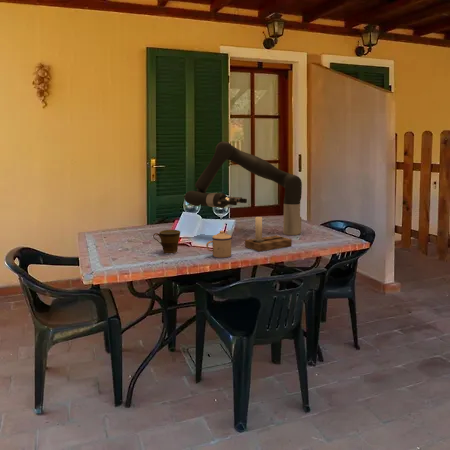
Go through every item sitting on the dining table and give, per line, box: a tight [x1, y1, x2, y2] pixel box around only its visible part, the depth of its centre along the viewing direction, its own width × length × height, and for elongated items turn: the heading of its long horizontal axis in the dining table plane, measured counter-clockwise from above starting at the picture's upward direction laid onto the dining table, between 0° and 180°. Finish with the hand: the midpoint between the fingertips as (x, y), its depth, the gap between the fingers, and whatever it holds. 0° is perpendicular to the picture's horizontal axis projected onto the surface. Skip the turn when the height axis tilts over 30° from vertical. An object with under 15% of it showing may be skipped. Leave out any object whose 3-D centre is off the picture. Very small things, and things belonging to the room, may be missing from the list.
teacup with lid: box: [205, 230, 233, 259], centre depth 214 cm, size 12×9×12 cm
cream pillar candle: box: [252, 216, 264, 242], centre depth 227 cm, size 4×4×14 cm
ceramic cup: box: [152, 229, 181, 254], centre depth 222 cm, size 13×10×10 cm
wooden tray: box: [244, 234, 293, 253], centre depth 232 cm, size 20×12×4 cm, turn 122°
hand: (241, 202), depth 236 cm, fingers open, 8 cm apart
